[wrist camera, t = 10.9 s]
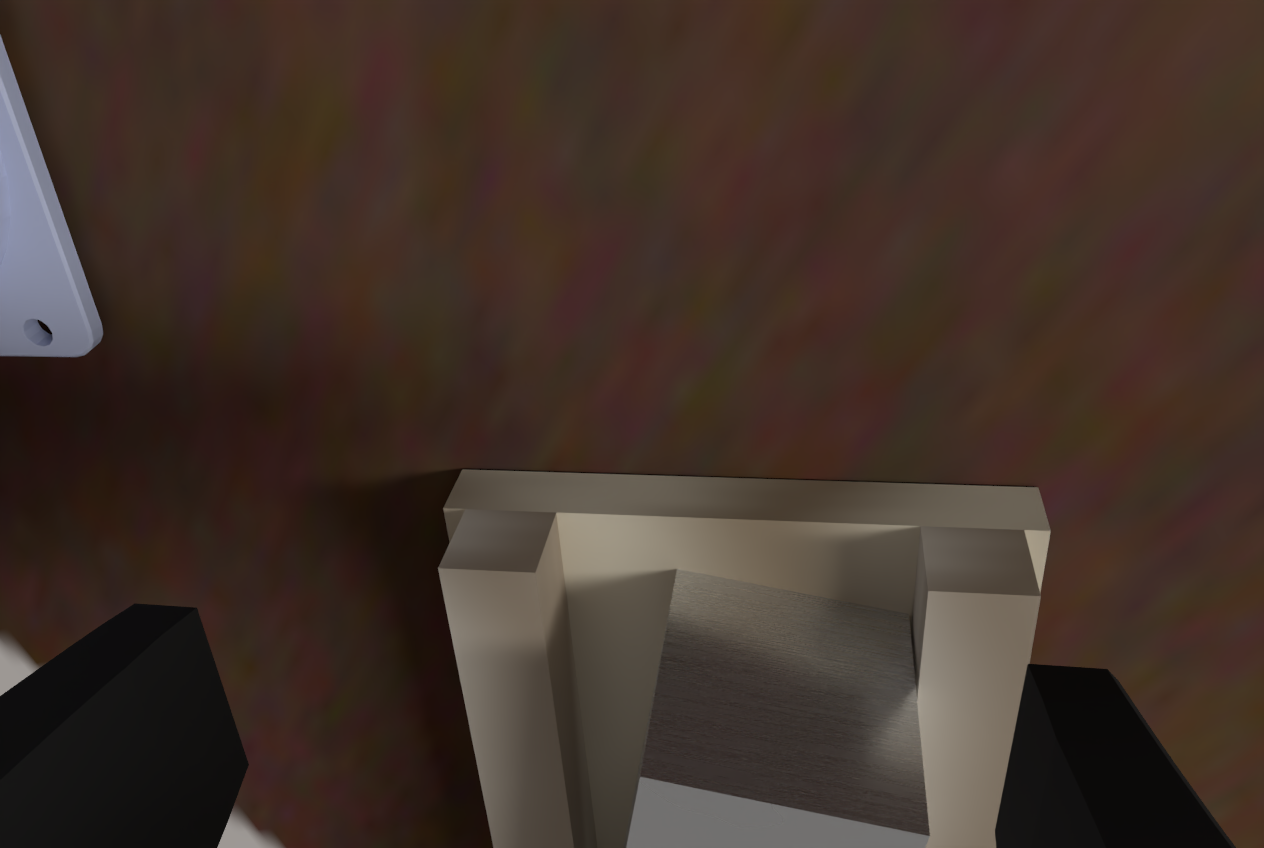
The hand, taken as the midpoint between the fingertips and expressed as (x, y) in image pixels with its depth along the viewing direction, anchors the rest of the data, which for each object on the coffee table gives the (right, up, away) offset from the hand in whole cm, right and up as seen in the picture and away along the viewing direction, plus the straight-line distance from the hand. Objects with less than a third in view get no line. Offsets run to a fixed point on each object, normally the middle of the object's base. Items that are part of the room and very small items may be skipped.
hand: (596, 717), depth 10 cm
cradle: (+3, -4, +13) cm, 14 cm away
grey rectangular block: (+2, -4, +12) cm, 13 cm away
